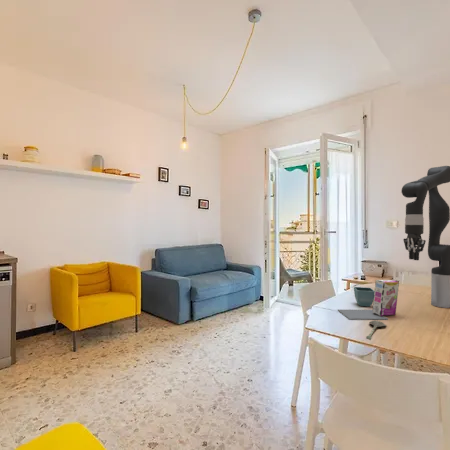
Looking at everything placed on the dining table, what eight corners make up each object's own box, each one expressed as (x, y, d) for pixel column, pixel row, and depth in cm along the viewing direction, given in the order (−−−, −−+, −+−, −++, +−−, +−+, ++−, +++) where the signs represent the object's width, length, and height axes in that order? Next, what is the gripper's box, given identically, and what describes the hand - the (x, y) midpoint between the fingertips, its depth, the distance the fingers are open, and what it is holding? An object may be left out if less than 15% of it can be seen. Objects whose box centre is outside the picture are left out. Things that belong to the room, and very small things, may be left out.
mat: (373, 310, 149) (373, 309, 149) (388, 320, 135) (388, 318, 135) (337, 310, 149) (337, 309, 149) (349, 319, 135) (349, 318, 135)
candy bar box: (381, 316, 138) (384, 282, 137) (371, 313, 142) (374, 279, 142) (396, 315, 142) (399, 281, 142) (387, 312, 147) (389, 279, 147)
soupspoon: (387, 327, 128) (371, 325, 132) (387, 320, 129) (371, 317, 133) (377, 342, 111) (359, 338, 115) (377, 332, 111) (358, 329, 115)
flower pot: (375, 308, 154) (375, 291, 154) (357, 307, 156) (357, 290, 156) (370, 303, 163) (370, 287, 163) (353, 302, 164) (353, 286, 164)
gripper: (432, 224, 135) (431, 261, 135) (412, 224, 149) (412, 258, 149) (415, 224, 135) (415, 261, 135) (397, 224, 149) (397, 258, 149)
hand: (413, 259), depth 142 cm, fingers open, 3 cm apart
